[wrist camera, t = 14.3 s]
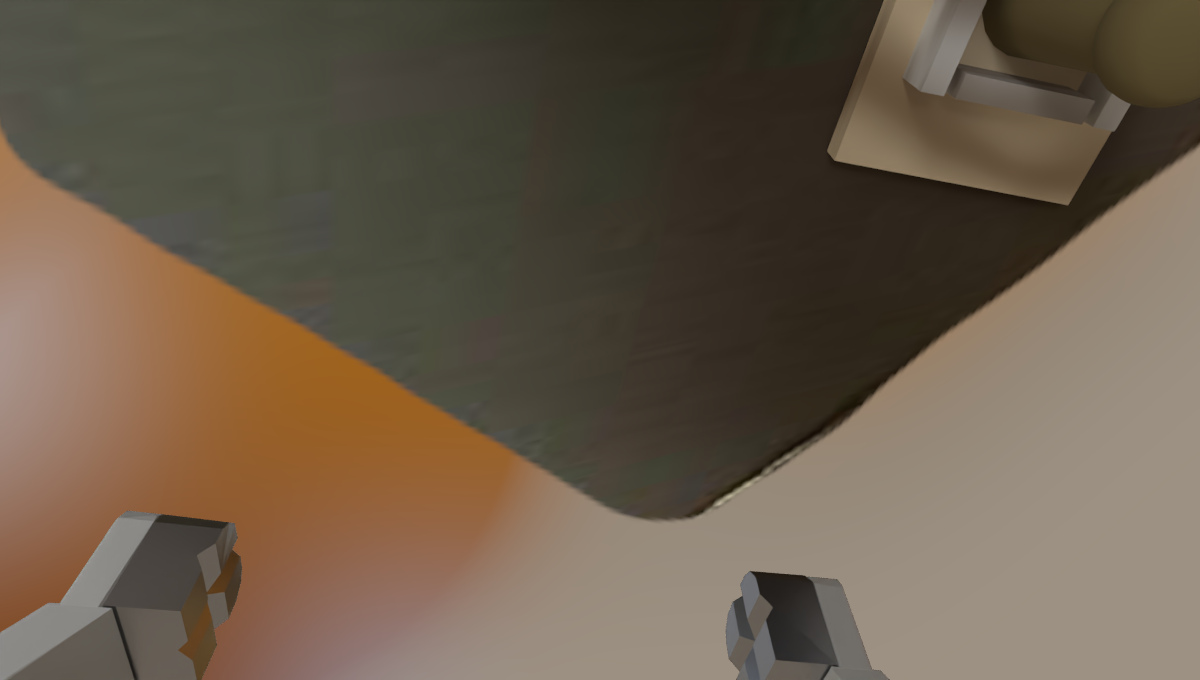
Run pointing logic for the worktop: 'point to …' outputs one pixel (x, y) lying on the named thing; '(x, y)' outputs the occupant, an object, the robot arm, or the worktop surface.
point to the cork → (1108, 43)
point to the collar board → (970, 107)
